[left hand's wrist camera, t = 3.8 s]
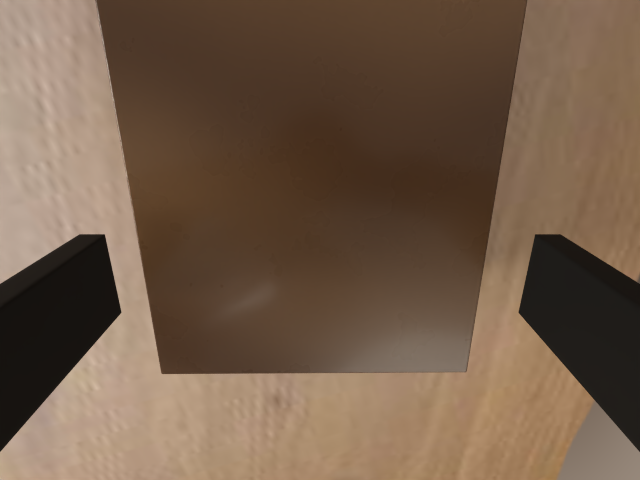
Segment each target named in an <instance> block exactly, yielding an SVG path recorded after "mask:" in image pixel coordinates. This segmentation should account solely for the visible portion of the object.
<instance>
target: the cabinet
mask: <svg viewBox="0 0 640 480" xmlns="http://www.w3.org/2000/svg"><path fill="white" fill-rule="evenodd" d="M95 1H96V6H97V12H98V18H99V23H100V29H101V35H102V40H103V46H104V51H105V57H106V63H107V68H108V74H109V80H110V85H111V91H112V97H113V102H114V108H115V114H116V119H117V125H118V130H119V136H120V142H121V147H122V153H123V159H124V164H125V170H126V176H127V181H128V187H129V193H130V198H131V204H132V209H133V215H134V221H135V226H136V232H137V238H138V243H139V249H140V255H141V260H142V266H143V272H144V277H145V283H146V288H147V294H148V300H149V305H150V311H151V317H152V322H153V328H154V334H155V339H156V345H157V351H158V356H159V362H160V367H161V373H162V374H230V373H395V372H466V371H467V365H468V359H469V353H470V347H471V341H472V335H473V329H474V323H475V316H476V310H477V304H478V298H479V292H480V286H481V280H482V274H483V267H484V261H485V255H486V249H487V243H488V237H489V231H490V225H491V219H492V212H493V206H494V200H495V194H496V188H497V182H498V176H499V170H500V163H501V157H502V151H503V145H504V139H505V133H506V127H507V121H508V115H509V108H510V102H511V96H512V90H513V84H514V78H515V72H516V66H517V59H518V53H519V47H520V41H521V35H522V29H523V23H524V17H525V11H526V4H527V0H95Z"/></svg>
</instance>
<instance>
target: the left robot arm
mask: <svg viewBox="0 0 640 480" xmlns="http://www.w3.org/2000/svg"><path fill="white" fill-rule="evenodd" d="M120 314H121V308H120V304H119V299H118V294H117V290H116V285H115V280H114V276H113V271H112V266H111V262H110V257H109V252H108V248H107V243H106V238H105V234H80V235H78V236H76V237H75V238H73V239H72V240H70V241H68V242H67V243H65V244H64V245H62V246H60V247H59V248H57V249H56V250H54V251H52V252H51V253H49V254H48V255H46V256H44V257H43V258H41V259H40V260H38V261H36V262H35V263H33V264H32V265H30V266H28V267H27V268H25V269H24V270H22V271H20V272H19V273H17V274H16V275H14V276H12V277H11V278H9V279H8V280H6V281H4V282H3V283H1V284H0V451H1V450H2V449H3V448H4V447H5V446H6V445H7V443H8V442H9V441H10V440H11V439H12V438H13V437H14V435H15V434H16V433H17V432H18V431H19V430H20V428H21V427H22V426H23V425H24V424H25V423H26V422H27V420H28V419H29V418H30V417H31V416H32V415H33V414H34V412H35V411H36V410H37V409H38V408H39V407H40V405H41V404H42V403H43V402H44V401H45V400H46V399H47V397H48V396H49V395H50V394H51V393H52V392H53V391H54V389H55V388H56V387H57V386H58V385H59V384H60V383H61V381H62V380H63V379H64V378H65V377H66V376H67V374H68V373H69V372H70V371H71V370H72V369H73V368H74V366H75V365H76V364H77V363H78V362H79V361H80V360H81V358H82V357H83V356H84V355H85V354H86V353H87V351H88V350H89V349H90V348H91V347H92V346H93V345H94V343H95V342H96V341H97V340H98V339H99V338H100V337H101V335H102V334H103V333H104V332H105V331H106V330H107V329H108V327H109V326H110V325H111V324H112V323H113V322H114V320H115V319H116V318H117V317H118V316H119V315H120ZM519 314H520V315H521V316H522V317H523V318H524V319H525V320H526V322H527V323H528V324H529V325H530V326H531V327H532V329H533V330H534V331H535V332H536V333H537V334H538V335H539V337H540V338H541V339H542V340H543V341H544V342H545V343H546V345H547V346H548V347H549V348H550V349H551V350H552V351H553V353H554V354H555V355H556V356H557V357H558V358H559V360H560V361H561V362H562V363H563V364H564V365H565V366H566V368H567V369H568V370H569V371H570V372H571V373H572V374H573V376H574V377H575V378H576V379H577V380H578V381H579V383H580V384H581V385H582V386H583V387H584V388H585V389H586V391H587V392H588V393H589V394H590V395H591V396H592V397H593V399H594V400H595V401H596V402H597V403H598V404H599V405H600V407H601V408H602V409H603V410H604V411H605V412H606V414H607V415H608V416H609V417H610V418H611V419H612V420H613V422H614V423H615V424H616V425H617V426H618V427H619V428H620V430H621V431H622V432H623V433H624V434H625V435H626V437H627V438H628V439H629V440H630V441H631V442H632V443H633V445H634V446H635V447H636V448H637V449H638V450H639V451H640V284H639V283H637V282H636V281H634V280H632V279H631V278H629V277H628V276H626V275H624V274H623V273H621V272H620V271H618V270H616V269H615V268H613V267H612V266H610V265H608V264H607V263H605V262H604V261H602V260H600V259H599V258H597V257H596V256H594V255H592V254H591V253H589V252H588V251H586V250H584V249H583V248H581V247H580V246H578V245H576V244H575V243H573V242H572V241H570V240H568V239H567V238H565V237H564V236H562V235H560V234H535V238H534V243H533V248H532V252H531V257H530V262H529V266H528V271H527V276H526V280H525V285H524V290H523V294H522V299H521V304H520V308H519Z"/></svg>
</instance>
